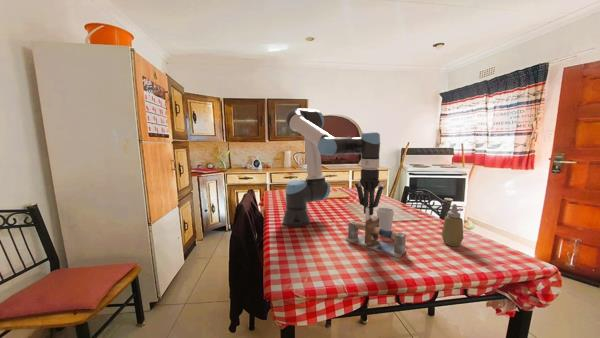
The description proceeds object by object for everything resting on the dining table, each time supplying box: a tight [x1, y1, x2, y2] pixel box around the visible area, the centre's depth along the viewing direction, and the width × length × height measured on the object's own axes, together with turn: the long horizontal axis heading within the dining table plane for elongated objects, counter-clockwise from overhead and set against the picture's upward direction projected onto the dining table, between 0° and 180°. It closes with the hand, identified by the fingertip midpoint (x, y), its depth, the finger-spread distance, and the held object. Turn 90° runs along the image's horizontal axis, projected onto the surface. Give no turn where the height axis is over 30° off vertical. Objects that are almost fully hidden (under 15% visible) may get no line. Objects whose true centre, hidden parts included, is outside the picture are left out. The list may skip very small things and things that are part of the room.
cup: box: [376, 206, 395, 231], centre depth 111 cm, size 8×8×12 cm
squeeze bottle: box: [441, 203, 464, 247], centre depth 99 cm, size 8×8×18 cm
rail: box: [345, 220, 407, 259], centre depth 98 cm, size 24×8×8 cm, turn 48°
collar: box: [364, 215, 379, 245], centre depth 99 cm, size 2×8×10 cm, turn 138°
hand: (368, 221), depth 99 cm, fingers closed
